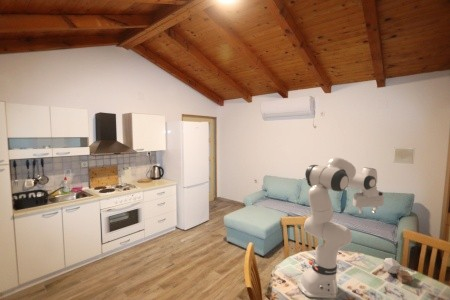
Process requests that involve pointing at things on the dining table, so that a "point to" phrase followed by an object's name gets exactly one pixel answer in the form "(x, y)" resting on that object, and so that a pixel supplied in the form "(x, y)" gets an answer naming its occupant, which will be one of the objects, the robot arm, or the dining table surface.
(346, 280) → the dining table surface
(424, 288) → the dining table surface
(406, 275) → the walnut block
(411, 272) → the sage block
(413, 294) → the dining table surface
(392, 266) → the die
